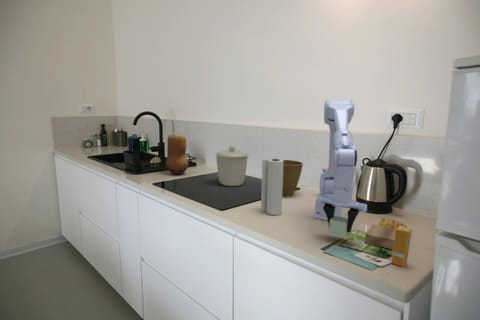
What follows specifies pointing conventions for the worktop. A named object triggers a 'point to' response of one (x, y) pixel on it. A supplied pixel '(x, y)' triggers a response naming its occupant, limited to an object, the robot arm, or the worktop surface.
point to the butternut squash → (176, 154)
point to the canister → (231, 166)
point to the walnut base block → (380, 236)
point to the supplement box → (401, 246)
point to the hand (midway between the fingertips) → (339, 229)
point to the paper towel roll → (272, 186)
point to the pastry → (390, 223)
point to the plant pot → (290, 176)
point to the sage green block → (339, 227)
